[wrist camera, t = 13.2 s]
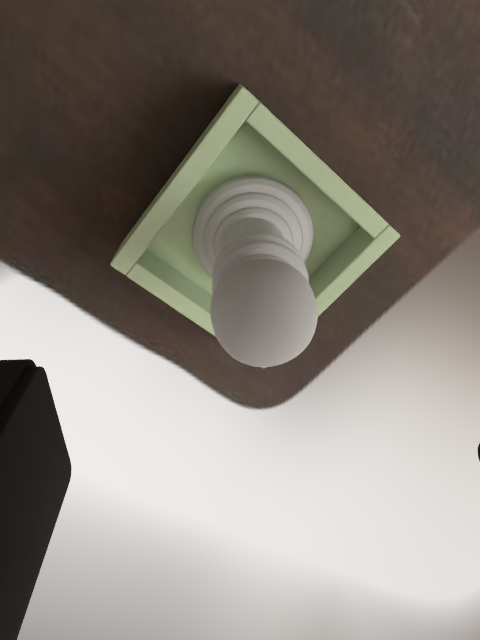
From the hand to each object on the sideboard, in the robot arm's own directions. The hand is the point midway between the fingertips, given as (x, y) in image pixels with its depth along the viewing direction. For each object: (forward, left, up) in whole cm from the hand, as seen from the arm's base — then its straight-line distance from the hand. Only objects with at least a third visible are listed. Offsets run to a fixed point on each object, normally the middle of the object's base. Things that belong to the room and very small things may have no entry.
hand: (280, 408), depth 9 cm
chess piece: (0, 0, -13) cm, 13 cm away
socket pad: (+1, 0, -13) cm, 13 cm away
